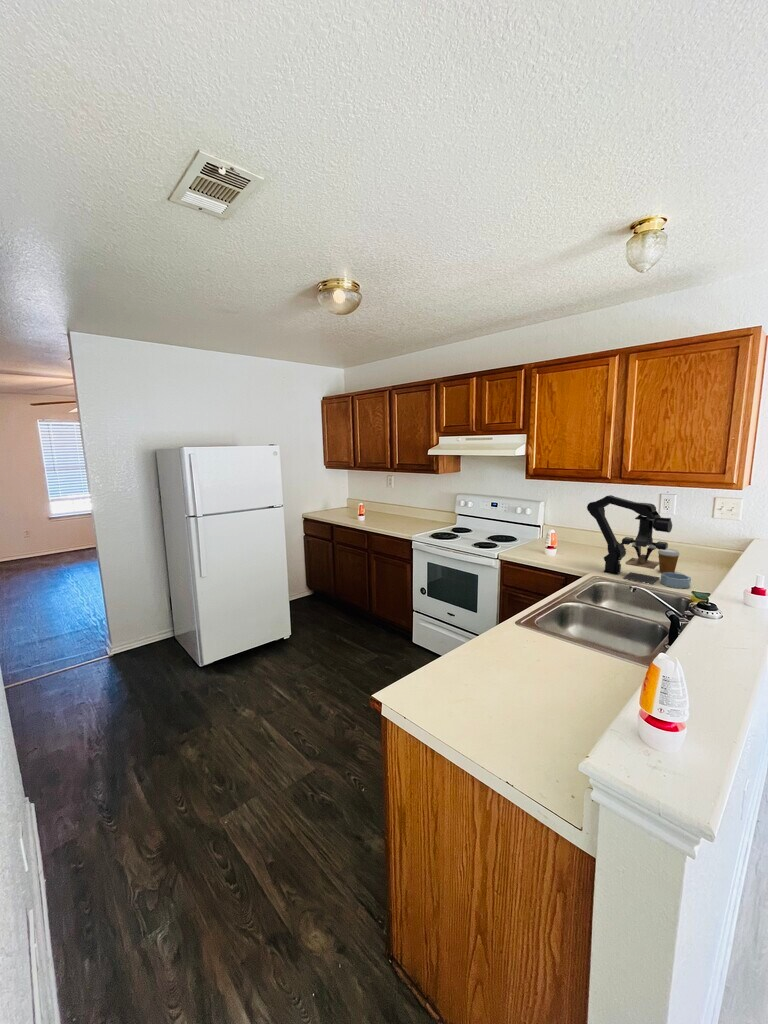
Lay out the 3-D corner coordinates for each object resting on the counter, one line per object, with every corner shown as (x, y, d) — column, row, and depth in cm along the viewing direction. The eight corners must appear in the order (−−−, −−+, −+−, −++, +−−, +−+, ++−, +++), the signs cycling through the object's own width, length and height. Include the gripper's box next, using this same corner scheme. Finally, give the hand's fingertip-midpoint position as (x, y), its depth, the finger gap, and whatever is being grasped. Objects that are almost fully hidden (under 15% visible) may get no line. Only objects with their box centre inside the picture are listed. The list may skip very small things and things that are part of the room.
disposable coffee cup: (681, 576, 212) (683, 553, 210) (660, 575, 214) (662, 552, 212) (672, 570, 221) (674, 548, 219) (652, 569, 223) (654, 547, 221)
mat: (623, 578, 208) (623, 577, 208) (630, 573, 217) (630, 572, 217) (653, 584, 199) (653, 583, 199) (659, 578, 208) (659, 577, 208)
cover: (625, 564, 207) (626, 556, 206) (632, 559, 215) (632, 552, 215) (653, 569, 198) (654, 560, 198) (659, 563, 207) (660, 556, 206)
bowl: (658, 585, 198) (659, 576, 198) (664, 579, 206) (665, 571, 205) (686, 590, 191) (687, 581, 190) (691, 585, 198) (692, 576, 198)
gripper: (619, 529, 205) (617, 559, 207) (664, 534, 192) (661, 567, 194) (626, 526, 213) (623, 555, 215) (669, 530, 200) (666, 562, 202)
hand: (642, 560), depth 207 cm, fingers closed on cover, 2 cm apart
